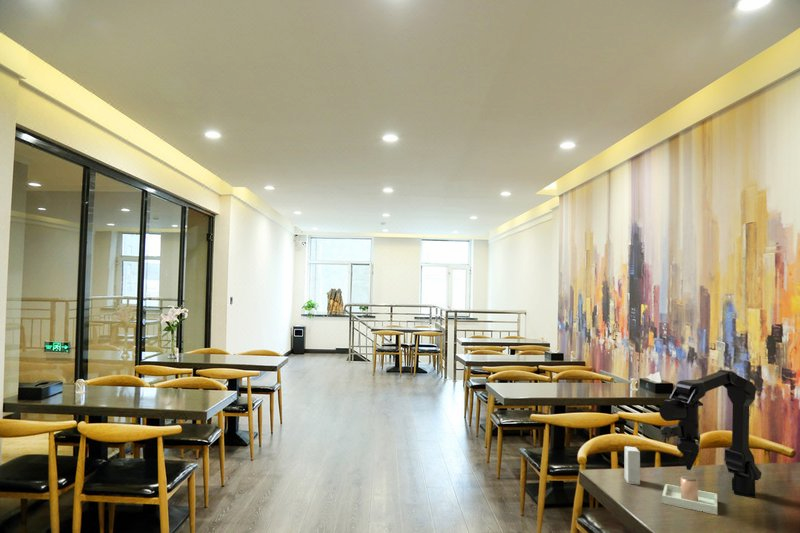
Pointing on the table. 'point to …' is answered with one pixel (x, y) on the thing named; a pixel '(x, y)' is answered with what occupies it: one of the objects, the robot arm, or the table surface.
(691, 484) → the cup
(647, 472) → the table surface
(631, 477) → the skincare box
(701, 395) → the robot arm
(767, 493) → the table surface
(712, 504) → the tray
